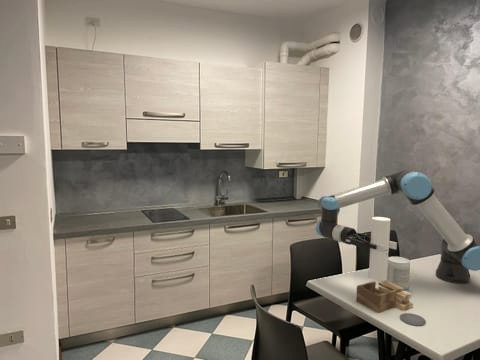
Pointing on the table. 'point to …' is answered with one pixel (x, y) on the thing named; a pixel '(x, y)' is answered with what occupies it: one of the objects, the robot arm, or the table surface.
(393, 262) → the supplement tub
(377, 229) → the cylindrical container
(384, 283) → the offcut rack
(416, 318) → the rubber mat
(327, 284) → the table surface
